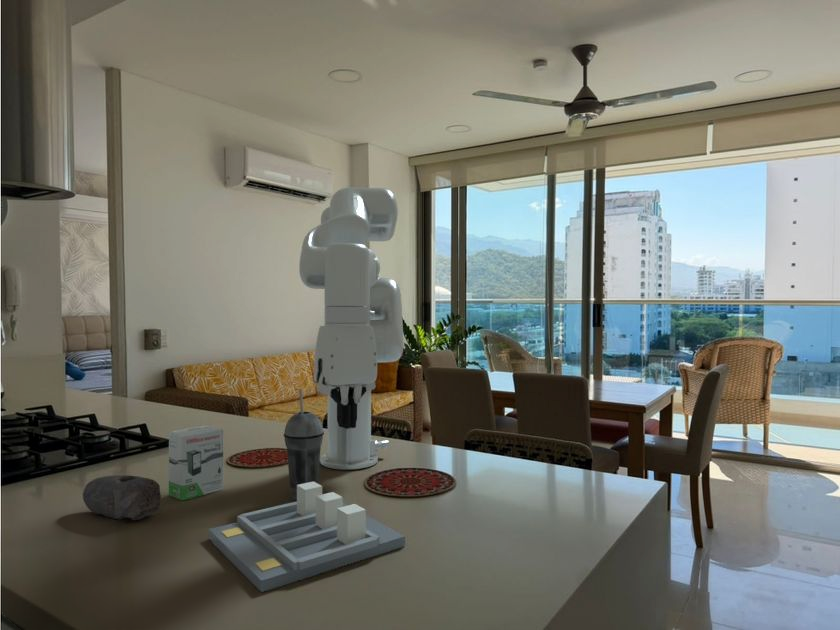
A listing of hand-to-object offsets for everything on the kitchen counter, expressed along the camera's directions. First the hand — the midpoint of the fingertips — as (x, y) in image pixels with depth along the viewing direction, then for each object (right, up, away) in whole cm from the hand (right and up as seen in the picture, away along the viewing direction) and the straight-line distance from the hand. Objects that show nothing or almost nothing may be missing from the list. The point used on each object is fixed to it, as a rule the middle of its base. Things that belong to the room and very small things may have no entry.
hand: (347, 426), depth 97 cm
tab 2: (-2, -14, -8) cm, 16 cm away
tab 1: (-6, -13, -3) cm, 15 cm away
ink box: (-29, -15, +11) cm, 35 cm away
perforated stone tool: (-38, -15, -1) cm, 41 cm away
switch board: (-5, -15, -11) cm, 19 cm away
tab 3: (+2, -14, -14) cm, 19 cm away
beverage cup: (-9, -15, +9) cm, 20 cm away
